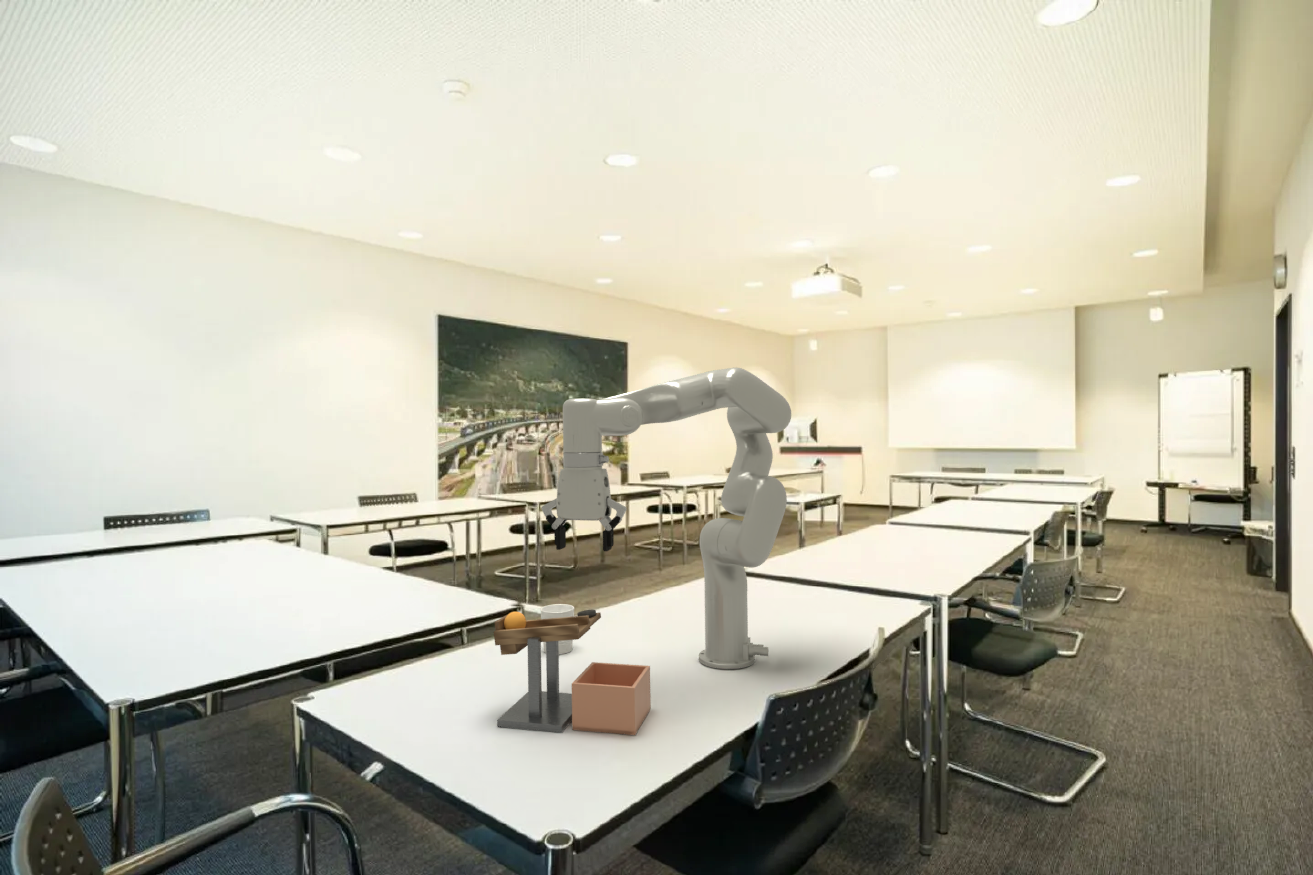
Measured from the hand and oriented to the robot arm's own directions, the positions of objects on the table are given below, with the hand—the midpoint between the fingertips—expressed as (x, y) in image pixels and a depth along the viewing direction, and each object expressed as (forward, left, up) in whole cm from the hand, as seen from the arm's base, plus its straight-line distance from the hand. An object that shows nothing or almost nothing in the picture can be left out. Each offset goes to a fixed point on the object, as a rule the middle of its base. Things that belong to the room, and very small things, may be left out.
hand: (584, 549), depth 134 cm
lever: (+4, +6, -16) cm, 18 cm away
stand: (+5, +10, -28) cm, 30 cm away
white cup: (+16, -25, -29) cm, 41 cm away
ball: (+10, +10, -12) cm, 19 cm away
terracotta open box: (-8, +10, -28) cm, 31 cm away
